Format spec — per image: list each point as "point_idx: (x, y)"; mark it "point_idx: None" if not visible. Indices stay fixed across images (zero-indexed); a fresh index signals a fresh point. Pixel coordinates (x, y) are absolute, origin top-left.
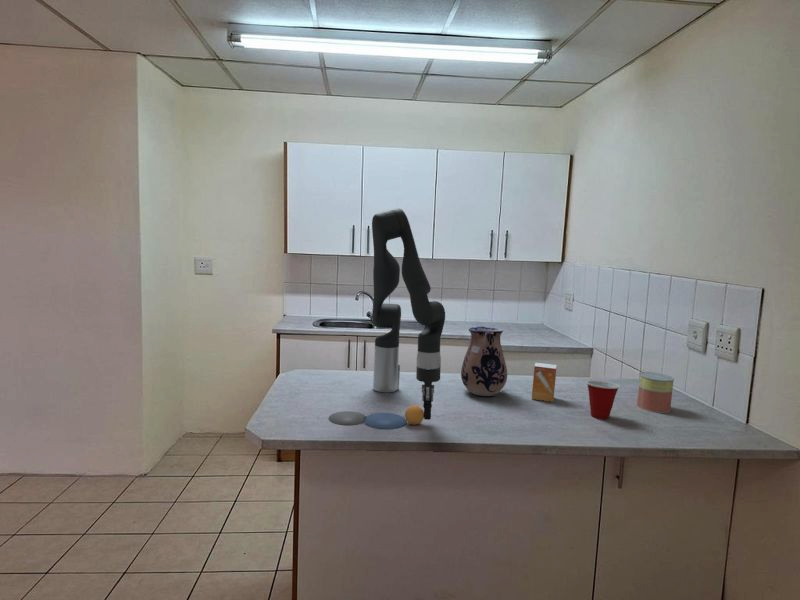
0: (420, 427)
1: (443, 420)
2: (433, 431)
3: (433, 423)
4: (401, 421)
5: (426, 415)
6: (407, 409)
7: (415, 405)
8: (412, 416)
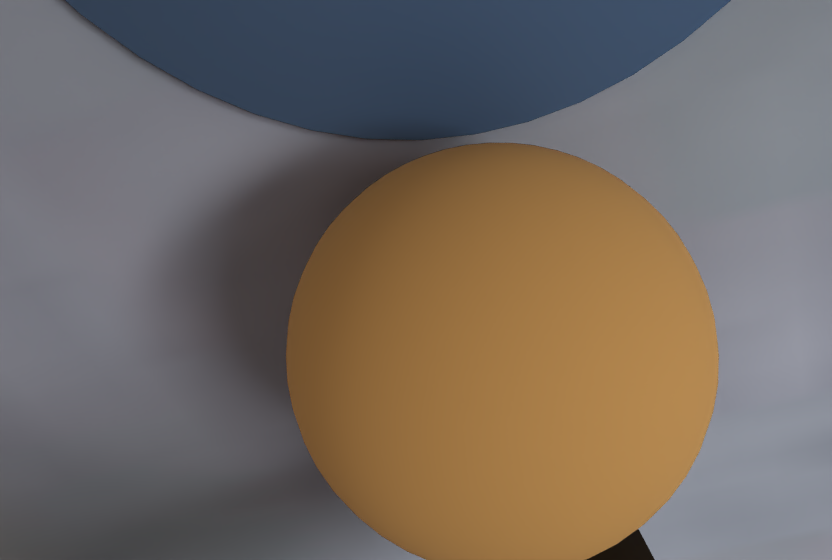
0: None
1: (703, 520)
2: (297, 522)
3: None
4: (480, 24)
5: None
6: (443, 291)
7: (598, 511)
8: (291, 384)
